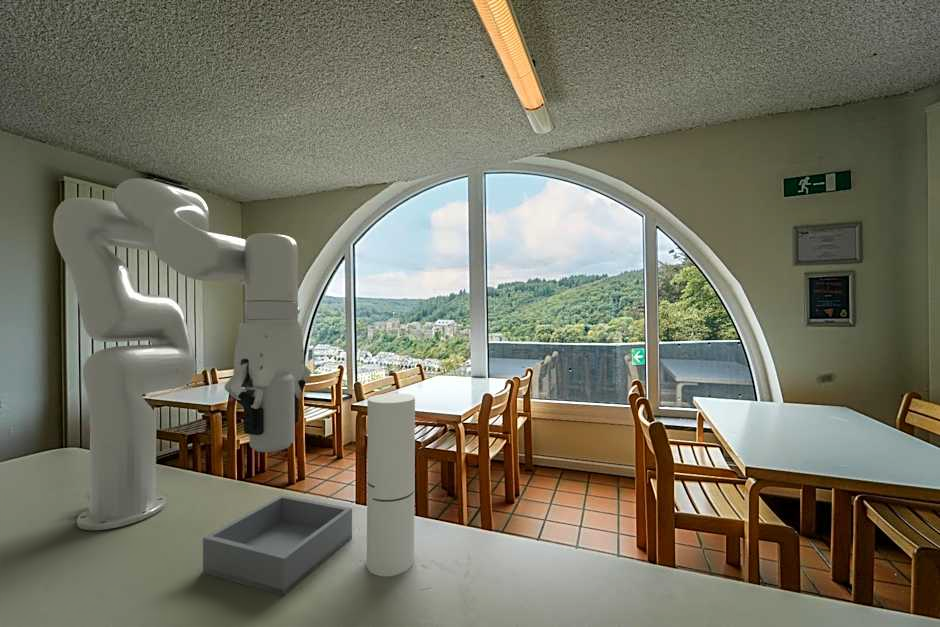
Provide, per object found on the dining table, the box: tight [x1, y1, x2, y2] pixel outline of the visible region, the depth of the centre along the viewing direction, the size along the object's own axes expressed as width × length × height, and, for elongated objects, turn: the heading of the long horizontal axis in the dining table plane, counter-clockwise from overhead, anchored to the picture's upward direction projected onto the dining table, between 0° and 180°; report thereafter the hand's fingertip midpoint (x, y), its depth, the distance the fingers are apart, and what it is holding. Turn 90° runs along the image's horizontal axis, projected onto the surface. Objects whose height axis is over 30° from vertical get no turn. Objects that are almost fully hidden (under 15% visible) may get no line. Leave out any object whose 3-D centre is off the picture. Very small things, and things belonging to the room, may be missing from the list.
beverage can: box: [249, 371, 296, 453], centre depth 63 cm, size 6×6×12 cm
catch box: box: [202, 494, 353, 597], centre depth 63 cm, size 15×15×5 cm
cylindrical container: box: [366, 393, 416, 578], centre depth 62 cm, size 7×7×25 cm
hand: (272, 426), depth 63 cm, fingers closed on beverage can, 6 cm apart
